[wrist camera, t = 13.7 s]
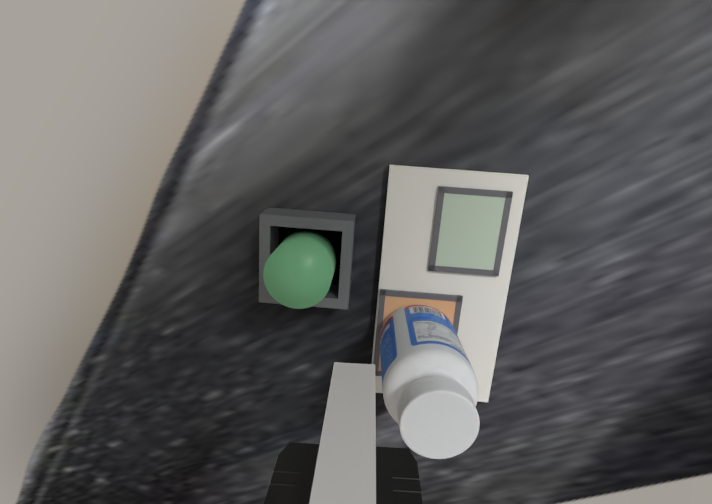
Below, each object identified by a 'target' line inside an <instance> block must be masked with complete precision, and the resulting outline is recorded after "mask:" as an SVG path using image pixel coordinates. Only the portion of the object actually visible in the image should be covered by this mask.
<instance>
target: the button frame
mask: <svg viewBox="0 0 712 504" xmlns="http://www.w3.org/2000/svg"><path fill="white" fill-rule="evenodd" d="M355 219H356V214H349V213H336V212H323V211H310V210H297V209H284V208H271V207H269V208H268V209H266V210H265V211H263V212H262V213H260V214H259V302H262V303H275V304H280V303H279V302H277V301H276V300H275V299H274V298H273V297H272V296H271V295H270V294H269V292H268V291H267V289H266V286H265V283H264V279H263V271H264V266H265V263H266V261H267V259H268V258H269V256H270V255H271V254H272V253H273V252H274V251H275V249H276V248H277V247H278V246H279V226H280V227H292V228H305V229H318V230H331V231H342V245H341V261H340V276H339V285H330V288H329V291H328V293H327V294H326V296H325V297H324V298H323V299H322V300H321V301H320V302H319V303H317V304H316V305H314V306H311V307H323V308H335V309H347V310H348V306H349V299H350V290H351V276H352V262H353V248H354V233H355Z"/></svg>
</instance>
